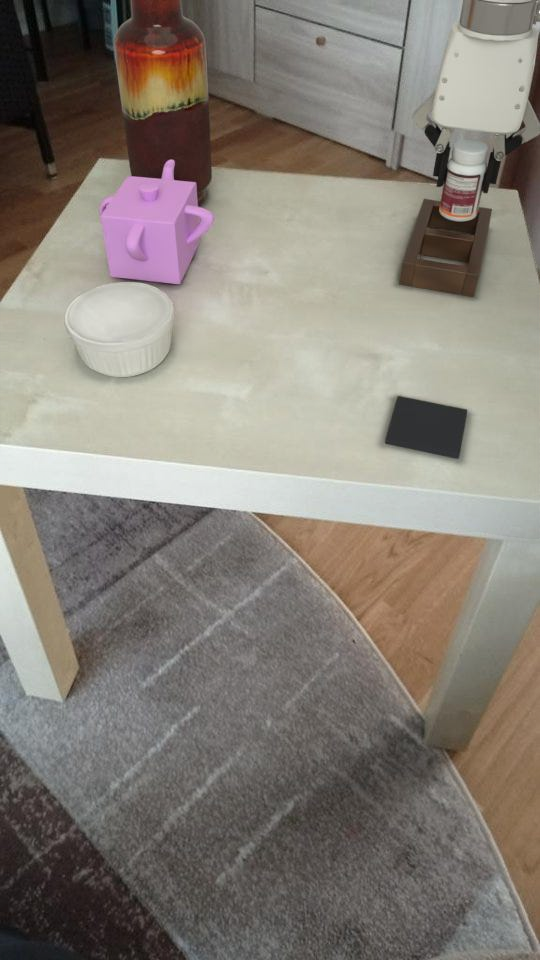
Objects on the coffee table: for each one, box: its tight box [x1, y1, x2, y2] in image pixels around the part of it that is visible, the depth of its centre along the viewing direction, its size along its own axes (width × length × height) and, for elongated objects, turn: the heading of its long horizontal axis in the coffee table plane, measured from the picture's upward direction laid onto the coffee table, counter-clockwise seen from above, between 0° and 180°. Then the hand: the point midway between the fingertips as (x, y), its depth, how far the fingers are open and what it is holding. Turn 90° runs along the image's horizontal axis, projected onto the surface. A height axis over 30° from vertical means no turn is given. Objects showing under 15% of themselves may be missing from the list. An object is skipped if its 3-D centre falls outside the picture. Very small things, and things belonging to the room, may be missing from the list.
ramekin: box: [63, 281, 176, 378], centre depth 78 cm, size 11×11×5 cm
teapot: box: [98, 160, 215, 285], centre depth 88 cm, size 18×14×10 cm
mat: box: [384, 395, 468, 459], centre depth 72 cm, size 7×7×1 cm
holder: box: [398, 198, 493, 298], centre depth 92 cm, size 9×16×3 cm, turn 163°
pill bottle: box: [439, 138, 489, 222], centre depth 89 cm, size 5×5×8 cm
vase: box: [113, 0, 213, 207], centre depth 93 cm, size 11×11×26 cm
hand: (463, 183), depth 90 cm, fingers closed on pill bottle, 4 cm apart
